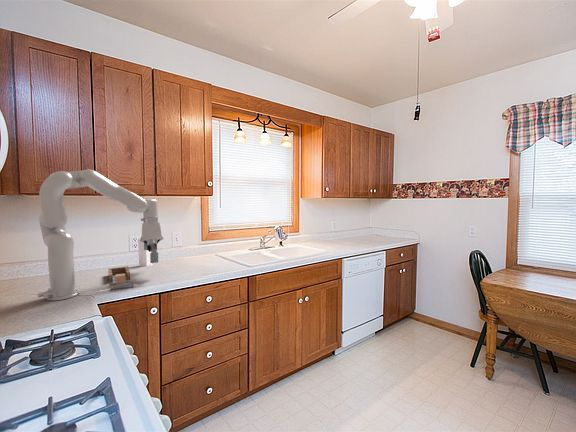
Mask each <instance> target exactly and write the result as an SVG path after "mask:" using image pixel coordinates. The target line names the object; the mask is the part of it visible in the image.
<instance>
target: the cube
mask: <svg viewBox="0 0 576 432" xmlns="http://www.w3.org/2000/svg"><path fill="white" fill-rule="evenodd" d="M115 276H116V285H118V284H124V283H126V280H125V273H124V274H117V275H115Z"/></svg>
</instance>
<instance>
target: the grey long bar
mask: <svg viewBox="0 0 576 432" xmlns="http://www.w3.org/2000/svg"><path fill="white" fill-rule="evenodd" d="M145 241H146V240H145ZM154 243H155V242H154V240H149V244H150V250H151V253H150V263H153V264H155V263H159V252H158V251H157V250H158V248H157V249H156V247H155V245H154ZM144 250H147V244H145V243H144Z"/></svg>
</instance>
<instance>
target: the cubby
mask: <svg viewBox="0 0 576 432" xmlns="http://www.w3.org/2000/svg"><path fill="white" fill-rule="evenodd" d="M107 269H108V280H109V288H110V289H109V290H110V292H113V290H114V291H118V290H119V289H120V290H126V289H131V288H134V287H133V282H132V281H131V271H130V269H129V266H119V267H112V268H107ZM124 273H125V280H126V283H124V284H118V285H116V276H115V275H117V274H124ZM125 288H126V289H125Z"/></svg>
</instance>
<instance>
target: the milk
mask: <svg viewBox="0 0 576 432" xmlns="http://www.w3.org/2000/svg"><path fill="white" fill-rule="evenodd" d="M140 239H141V237H139V238H138V239H137V242H138V244H137V245H138V264H139V266H138V267H139V268H140V267H148V266H153V265H154V263H150V253H151V252H149V251H148V250H144V242H141V241H140Z"/></svg>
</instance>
